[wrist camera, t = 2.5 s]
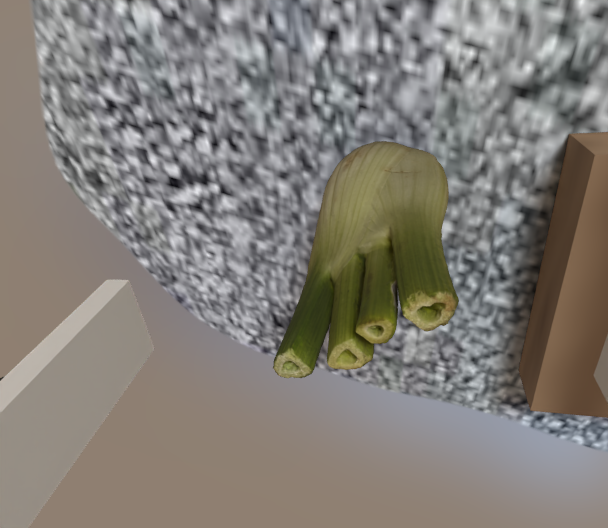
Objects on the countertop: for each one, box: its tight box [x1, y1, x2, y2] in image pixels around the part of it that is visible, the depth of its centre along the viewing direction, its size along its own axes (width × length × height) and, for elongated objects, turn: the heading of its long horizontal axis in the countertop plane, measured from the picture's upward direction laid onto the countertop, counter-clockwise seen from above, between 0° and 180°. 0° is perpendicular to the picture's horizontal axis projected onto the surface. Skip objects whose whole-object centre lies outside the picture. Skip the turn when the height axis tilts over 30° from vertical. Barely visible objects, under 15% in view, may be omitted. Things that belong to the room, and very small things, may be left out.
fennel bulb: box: [273, 141, 459, 378], centre depth 16 cm, size 6×5×12 cm
